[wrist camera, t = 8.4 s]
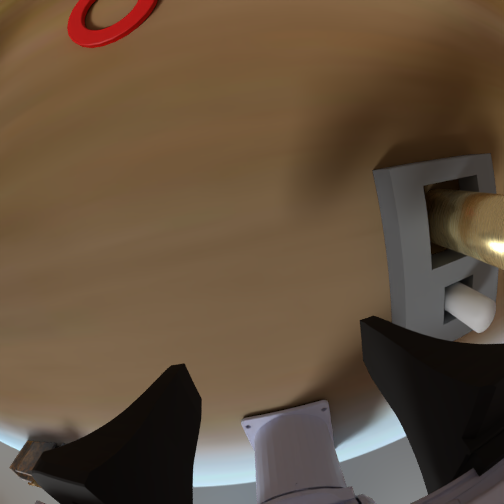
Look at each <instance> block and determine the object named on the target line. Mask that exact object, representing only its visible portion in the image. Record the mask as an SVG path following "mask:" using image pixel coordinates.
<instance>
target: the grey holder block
mask: <svg viewBox="0 0 504 504" xmlns="http://www.w3.org/2000/svg"><path fill="white" fill-rule="evenodd" d="M372 171H373V175H374V180H375V185H376V190H377V195H378V200H379V206H380V211H381V217H382V224H383V230H384V237H385V245H386V253H387V261H388V271H389V281H390V294H391V311H392V323H394V324H396V325H399V326H401V327H404V328H406V329H409V330H412V331H415V332H418V333H421V334H424V335H427V336H431V337H434V338H438V339H443V340H448V341H454V340H456V339H458V338H460V337H462V336H464V335H465V334H467V333H469V332H471V331H472V330H474V331H476V332H477V333H481V332H483V331H485V330H486V329H487V328H488V327H489V325H490V324H491V322H492V321H493V318H494V316H495V312H496V294H497V283H498V268H497V267H495V266H492V265H490V264H487V263H485V262H482V261H480V260H477V259H475V258H472V257H470V256H467V255H464V254H462V253H459V252H456V251H454V250H451V249H447V250H445V251H442V252H439V253H437V254H434V255H431V247H430V235H429V225H428V216H427V209H426V201H425V195H424V189H423V186H425V185H429V184H434V183H439V182H444V181H448V180H453V179H458V180H459V187H460V190H461V191H473V192H483V193H492V194H496V186H495V178H494V171H493V165H492V159H491V153H488V154H471V155H463V156H456V157H448V158H442V159H435V160H429V161H422V162H416V163H410V164H404V165H399V166H393V167H388V168H382V169H377V170H372Z"/></svg>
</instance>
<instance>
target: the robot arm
mask: <svg viewBox="0 0 504 504" xmlns="http://www.w3.org/2000/svg"><path fill="white" fill-rule="evenodd" d="M360 327H361V338H362V351H363V361H364V363H365V365H366V367H367V369H368V372H369V374H370V376H371V378H372V379H373V381H374V382H375V384H376V385H377V387H378V388H379V390H380V392H381V393H382V395H383V396H384V397H385V399H386V400H387V402H388V403H389V405H390V406H391V408H392V410H393V411H394V413H395V414H396V416H397V417H398V419H399V421H400V423H401V425H402V427H403V429H404V431H405V433H406V436H407V438H408V440H409V442H410V445H411V447H412V449H413V452H414V454H415V457H416V459H417V462H418V464H419V467H420V470H421V473H422V476H423V479H424V482H425V485H426V489H427V492H428V495H427V496H425V497H423V498H421V499H419V500H417V501H415V502H413V503H411V504H504V344H470V343H460V342H453V341H448V340H443V339H438V338H434V337H431V336H427V335H424V334H421V333H418V332H415V331H412V330H409V329H406V328H404V327H401V326H399V325H396V324H394V323H391V322H389V321H386V320H384V319H381V318H379V317H376V316H371V317H368V318H365V319H362V320H360ZM201 404H202V399H201V397H200V395H199V393H198V391H197V389H196V387H195V385H194V383H193V381H192V379H191V376H190V374H189V372H188V370H187V368H186V366H185V364H178V365H171V366H170V367H169V368H168V369H167V370H166V371H165V372H164V373H163V374H162V375H161V376H160V377H159V378H158V379H157V380H156V381H155V382H154V383H153V384H152V385H151V386H150V387H149V388H148V389H147V390H146V391H145V392H144V393H143V394H142V395H141V396H140V397H139V398H138V399H137V400H135V401H134V402H133V403H132V404H131V405H130V406H129V407H128V408H127V409H126V410H124V411H123V412H122V413H121V414H119V415H118V416H117V417H115V418H114V419H113V420H111V421H110V422H108V423H107V424H105V425H104V426H102V427H100V428H99V429H97V430H95V431H94V432H92V433H90V434H88V435H86V436H84V437H82V438H80V439H78V440H76V441H74V442H71V443H69V444H66V445H63V446H60V447H57V448H54V449H51V450H47V451H44V452H43V453H42V454H41V456H40V457H39V459H38V461H37V462H36V464H35V466H34V467H33V469H32V471H31V474H32V477H33V479H34V480H35V481H36V482H37V484H38V485H39V486H40V487H41V488H42V489H44V490H45V491H46V492H47V493H48V494H49V495H51V496H52V497H53V498H54V499H55V500H56V501H58V502H59V503H60V504H193V493H192V492H193V491H192V490H193V489H192V487H193V465H194V458H195V452H196V446H197V441H198V435H199V429H200V423H201ZM322 408H324V409H322ZM241 424H242V426H243V429H244V431H245V433H246V435H247V437H248V439H249V441H250V443H251V445H252V447H253V449H254V451H255V468H256V489H257V504H376V503H375V501H374V500H373V499H372V498H370V497H367V496H366V495H364V494H359V495H356V496H355V494H354V491H353V488H352V487H347V486H346V483H345V479H344V476H343V473H342V470H341V467H340V463H339V460H338V457H337V454H336V451H335V447H334V439H333V431H332V424H331V416H330V409H329V404H328V401H327V400H321V401H317V402H314V403H310V404H306V405H302V406H298V407H294V408H290V409H286V410H282V411H277V412H273V413H268V414H263V415H258V416H252V417H247V418H243V419H242V420H241ZM247 425H249V426H247ZM35 504H45V503H43V502H40V501H36V503H35Z"/></svg>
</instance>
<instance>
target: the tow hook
mask: <svg viewBox="0 0 504 504" xmlns="http://www.w3.org/2000/svg"><path fill="white" fill-rule="evenodd" d="M95 1H96V0H79V1H78V3H77V4H76V6H75V7H74V9H73V10H72V13H71V15H70V17H69V21H68V27H67V28H68V34H69V36H70V38H71V39H72V41H74V42H75V43H77V44H79V45H80V46H82V47H89V48H94V47H101V46H105V45H108V44H110V43H113V42H116V41H117V40H119V39H121V38H123V37H125V36H127V35H128V34H129V33H131V32H132V31H133V30H135V29H136V28H137V27H139V26H140V25H141V24H142V23H143V22H144V21H145V20H146V19H147V18H148V17H149V15H150V14H151V12H152V11H153V9H154V8H155V6H156V4H157V1H158V0H138V2H137V4H136V5H135V7H134V8H133V10H132V11H131V12H130V13H129V14H128V15H127V16H126V17H124V18H123V19H122V20H120V21H119V22H117V23H116V24H114V25H112V26H110V27H107V28H105V29H101V30H89V29H87V28H86V26H85V16H86V14H87V11H88V9H89V8H90V6H91V5H92V4H93V3H94V2H95Z"/></svg>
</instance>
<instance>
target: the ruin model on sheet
mask: <svg viewBox="0 0 504 504" xmlns="http://www.w3.org/2000/svg"><path fill="white" fill-rule="evenodd" d="M56 445H57V444H56V443H48V442H34V441H27V442H26V443H25V445H24V446H23V448H22V449H21V451H20V452H19V454H18V455H17V457H16V458H15V460H14V461H13V463H12V464H11V466H10V469H11V470H12V471H13V472H14V473H15V474H16V475H17V476H18V477H19V478H21V479H23V480H26V481H29V482H31V483H29V482H28V484H29V485H32V486H37V487H40V486H39V485H38V484H37V482H36V481H35V480H34V479H33V477H32V474H31V471H32V469H33V467H34V466H35V464H36V462H37V461H38V459H39V457H40V456H41V454H42V453H43V452H44V451H47V450H51V449H54V448H55V446H56ZM63 445H65V444H64V443H62V444H61V446H63ZM40 488H41V487H40Z"/></svg>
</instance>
